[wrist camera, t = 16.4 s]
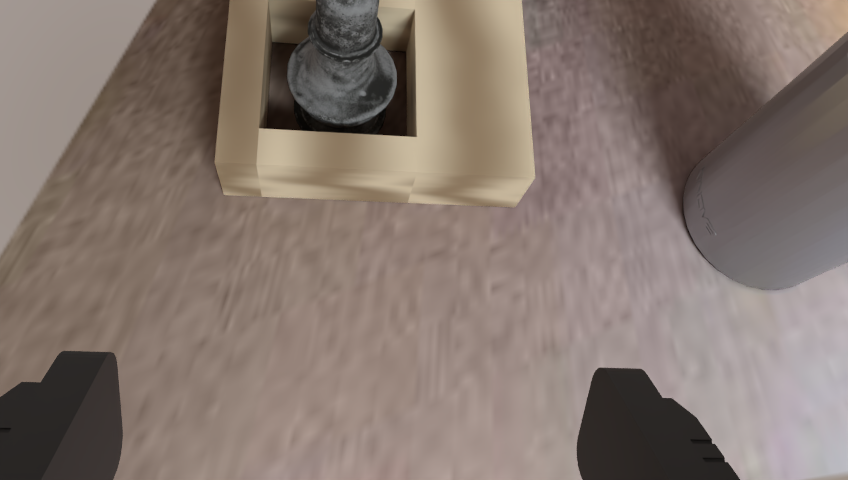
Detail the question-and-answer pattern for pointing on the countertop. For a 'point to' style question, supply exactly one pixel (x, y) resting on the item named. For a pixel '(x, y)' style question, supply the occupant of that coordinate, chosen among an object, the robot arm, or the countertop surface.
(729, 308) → the countertop surface
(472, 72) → the jig
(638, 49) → the countertop surface
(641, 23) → the countertop surface
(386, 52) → the grey tall knobbed piece
